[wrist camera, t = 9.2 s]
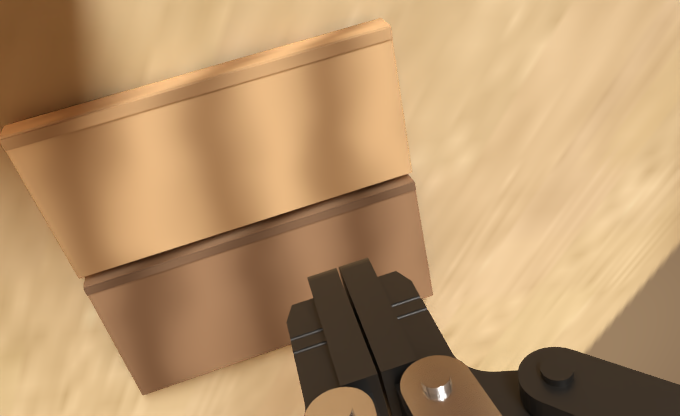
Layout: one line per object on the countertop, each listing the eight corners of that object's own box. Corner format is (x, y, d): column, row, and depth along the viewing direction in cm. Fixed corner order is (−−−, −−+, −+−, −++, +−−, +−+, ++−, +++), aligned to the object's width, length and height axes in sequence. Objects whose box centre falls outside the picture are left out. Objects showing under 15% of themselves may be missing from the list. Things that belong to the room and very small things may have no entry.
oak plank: (380, 17, 33) (390, 25, 31) (403, 161, 38) (412, 172, 36) (4, 125, 30) (-3, 138, 29) (81, 263, 35) (78, 279, 34)
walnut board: (404, 170, 38) (414, 182, 37) (424, 281, 43) (433, 295, 41) (86, 271, 36) (83, 288, 34) (143, 377, 40) (142, 396, 39)
